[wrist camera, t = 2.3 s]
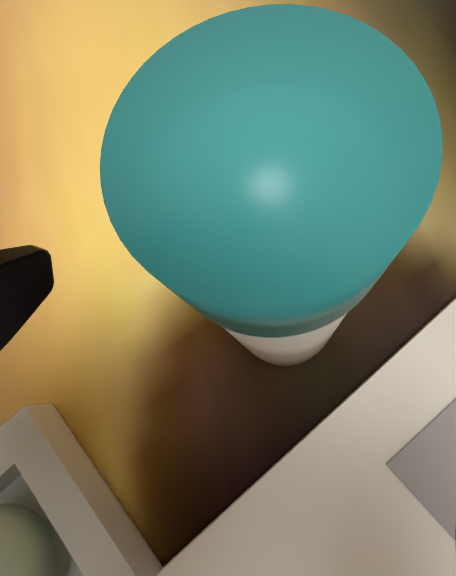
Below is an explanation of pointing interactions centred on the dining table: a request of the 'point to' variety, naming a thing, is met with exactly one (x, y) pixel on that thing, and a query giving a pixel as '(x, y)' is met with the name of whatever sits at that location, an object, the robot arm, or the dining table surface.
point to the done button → (24, 543)
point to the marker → (272, 170)
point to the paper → (355, 482)
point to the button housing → (69, 497)
